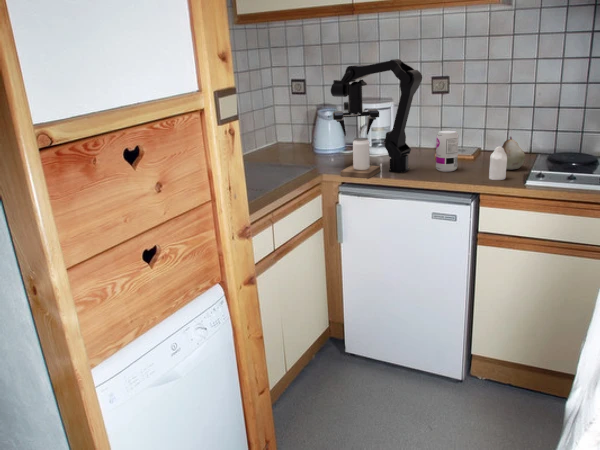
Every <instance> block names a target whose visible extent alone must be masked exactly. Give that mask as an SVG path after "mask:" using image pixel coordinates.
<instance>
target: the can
mask: <svg viewBox="0 0 600 450" xmlns="http://www.w3.org/2000/svg"><path fill="white" fill-rule="evenodd" d="M370 157H371V156H370V141H369V138H368V137H355V138H353V141H352V158H353V159H352V163H353V164H352V165H353V167H354V169H355V170H359V171H362V170H368V169H369V168H370V166H371V165H370V164H371V163H370Z"/></svg>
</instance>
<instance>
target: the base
mask: <svg viewBox="0 0 600 450" xmlns="http://www.w3.org/2000/svg"><path fill="white" fill-rule="evenodd" d="M380 172H381V166H379V165H378V166H377V165H370V168H369V169H368V170H362V171H359V170H355V169H354V167H353V164H352V165H351V164H350V166H348V167H346V168H344V169H342V170H340V177H345V178H346V177H347V178H348V177H349V178H358V179H359V178H360V179H371V178H372V177H374V176H375V175H377V174H379V173H380Z"/></svg>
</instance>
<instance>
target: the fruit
mask: <svg viewBox="0 0 600 450" xmlns="http://www.w3.org/2000/svg"><path fill="white" fill-rule="evenodd" d="M501 147H503V149H504V151H505V153H506V155H507V166H506V171H508V170H518V169H520V168H521V167H522V166H523V164H524V163H525V161H526V154H525V152H524V150H523V148H522V147H521V146H519V144H518V142H517V141H516V140H514V139H513V138H512V136H509V139H506V140H505V141H504V142H503V144H502V146H501Z"/></svg>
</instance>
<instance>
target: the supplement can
mask: <svg viewBox="0 0 600 450" xmlns="http://www.w3.org/2000/svg"><path fill="white" fill-rule="evenodd" d="M435 144H436V145H435V149H436V151H435V169H436V170H438V172H444V173H445V172H453V171H456V170H457V169H458V158H459V157H458V155H459V134H458V131H456V130H449V129H447V130H439V131H438V132H437V134H436V143H435Z"/></svg>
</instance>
